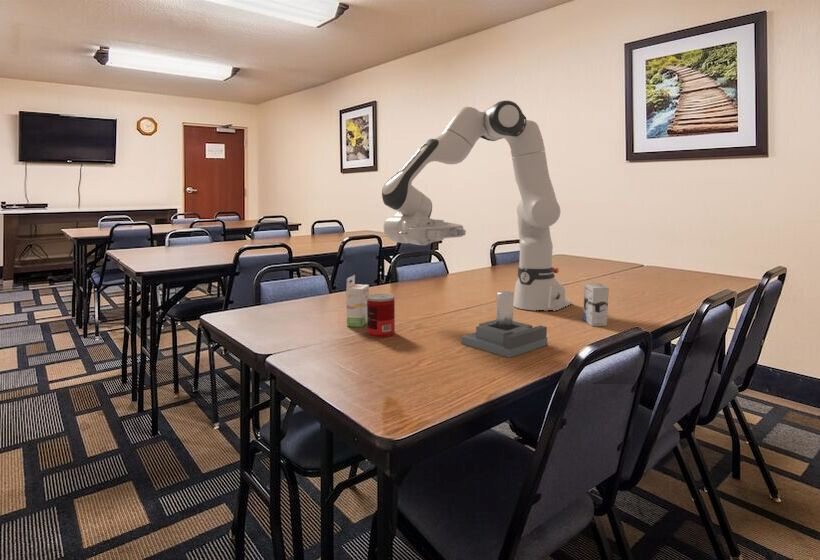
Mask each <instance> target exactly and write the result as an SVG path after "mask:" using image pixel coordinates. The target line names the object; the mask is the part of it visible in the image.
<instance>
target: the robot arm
mask: <svg viewBox="0 0 820 560" xmlns="http://www.w3.org/2000/svg"><path fill="white" fill-rule="evenodd" d="M480 138H481V139H483V140H486V141H490V142H496V141H499V140H503V139H504V140H505V141H507V144H508V145H509V149H510V153H511V161H512V167H513V172H514V178H515V179H514V180H515V182H516V184H517V188H518V191H519V194H520V196H521V197H520V198H521V200H520V201H519V203H518V205H517V207H516V213H517V226H518V227H517V228H518V239H519V265H518V266H517V270H516V271H517V277H518V278H517V280H516V282H515V285H514V286H515V287H514V302H513V308H516V309H521V310H527V311H536V310H537V311H538V310H544V311H548V310H553V311H552V312H557V311H556V310H558V311H560V310H562V309H564V308H566V307H568V305H569V306H570V304H571V305H572V304H573V303H572V300H570V299H566V289H565V286H563V285H562V284H561V283H560V282H559V281H558V280H557V279H556V278H555V277H556V276H555V274H559V272H560V271H559V270H560V269H559V267H553V242H552V238H551V237H552V236H551V230H550V229H551V228H550V227H552V226H553V225H555V223H557V222H558V221H559V219H560V217H561V207H560V204H559V202H558V200H557V197H556V193H555V190H554V187H553V183H552V180H551V178H550V174H549V168H548V167H549V166H548V162H547V160H548V159H547V154H546V149H545V144H544V140H543V139H544V138H543V135H542V133H541V129H540V127H539V124H538V123H537V122H535V121H533V120H530V119H528V120H527V117H526V116H525V114H524V113H523V110H522V109H521V107H520V106H519V104H518V103H516V102H514V101H512V100H501V101H498V102H497V103H494V104H492V105H490V107H487V109H486V110H484V111H480V110H478V109H476V108H475V107H473V106H472V107H471V106H464V107H462V108H461V109H460V110H458V112H456V114H455V115H454V116H453V117H452V119H451V120H450V121H449V122H448V124H447V125H446V127H445V128H444V130H443V131H442V133H441V134H439V136H437V137H436V138H429V139H427V140H426V141H425V142H423V144H422V145H420V147H419V148H418V149H417V150H416V151H415V152H414V153H413V154H412V156H411V157H410V158H409V159H408V160H407V161H406V162H405V163H404V165H403V166H402V167H401V168H400V169H399V170H398V171H397V172H396V174H395V175H393V176H391V178H390V179H388V180H387V181H386V182H385V183H384V185H383V187H382V191H381V197H382V202H383V204H384V205H385V206H387V207H388V208H390V209H392V210H394V211H396V214H394V215H392V216H390V217H388V218H386V219H385V221H384V222H383V232H384V234H385V236H386V238H388V239H389V240H390V241H393V242H396V243H400V244H411V245H418V246H428V245H429V244H432V243H434V242H438V241H443V240H445V239H451V238H462V237H464V236H466V233H467V232H466V231H467V230H466V229H464V225H462V224H458V223H452V222H447V221H444V219H435V218H431V216H432V212H433V202H432V200H431V199H430V198H429V197H428V196H427V195H425V194H424V193H423V192H422V191H420V190H419V189H417V188H416V187H415V186H414V185H412V182H413V181H414V180H415V178H416V177H417V176H418V175H419V174H420V173H421V172H422V170H424V168H425V167H426V166H427V165H428V164H430V163H431V162H439V163H441V164H446V165H458V164H460V163H462V162H463V161H465V159H466V158H467V157H469V155H470V153H471V151H472V149H473V148H474V146H475V145H476V143H477V141H478V140H479V139H480ZM565 306H566V307H565ZM563 307H564V308H563ZM561 308H562V309H561ZM559 309H560V310H559ZM537 311H536V312H537Z"/></svg>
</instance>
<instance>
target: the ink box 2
mask: <svg viewBox="0 0 820 560" xmlns="http://www.w3.org/2000/svg"><path fill="white" fill-rule="evenodd" d="M609 290H610V289H609V287H608V286H606V285H604V284H602V283H600V282H599V283H598V282H596V283H594V282H593V283H584V291H583V292H584V293H583V308H582V309H583V310H582V311H583V312H582V320H583V321H584V322H586V323H587V324H588V325H590V326H591V327H607V325H608V309H609V308H608V305H609Z"/></svg>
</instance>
